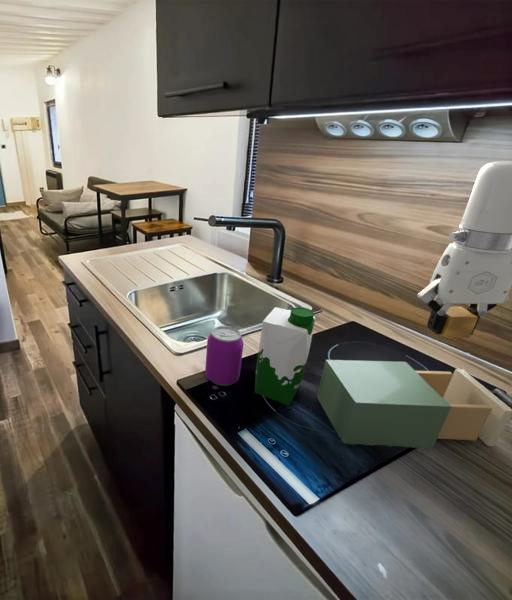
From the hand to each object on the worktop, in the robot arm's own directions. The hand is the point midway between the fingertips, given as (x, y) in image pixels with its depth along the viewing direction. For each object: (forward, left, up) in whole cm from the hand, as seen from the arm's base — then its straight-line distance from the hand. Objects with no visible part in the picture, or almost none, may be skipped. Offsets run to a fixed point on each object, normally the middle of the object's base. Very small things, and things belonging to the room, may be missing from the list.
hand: (449, 330), depth 70 cm
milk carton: (+30, +1, -15) cm, 34 cm away
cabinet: (+15, +9, -15) cm, 23 cm away
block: (0, 0, 0) cm, 0 cm away
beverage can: (+41, -3, -15) cm, 44 cm away
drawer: (+2, +9, -14) cm, 17 cm away
